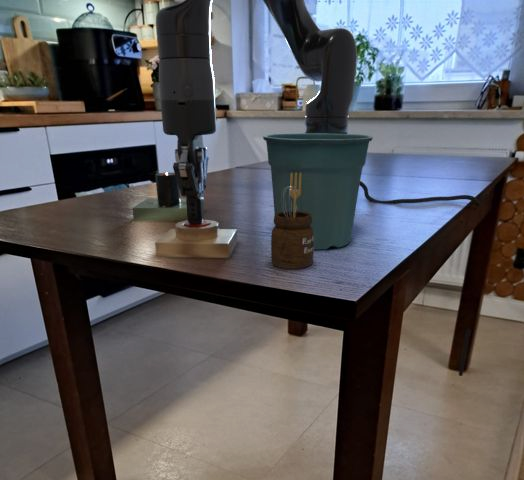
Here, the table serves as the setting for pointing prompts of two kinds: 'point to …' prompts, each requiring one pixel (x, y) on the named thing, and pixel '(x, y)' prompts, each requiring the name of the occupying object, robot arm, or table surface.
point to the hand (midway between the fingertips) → (195, 222)
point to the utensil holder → (292, 235)
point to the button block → (197, 241)
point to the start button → (204, 223)
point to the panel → (160, 211)
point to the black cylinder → (167, 188)
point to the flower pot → (319, 179)
